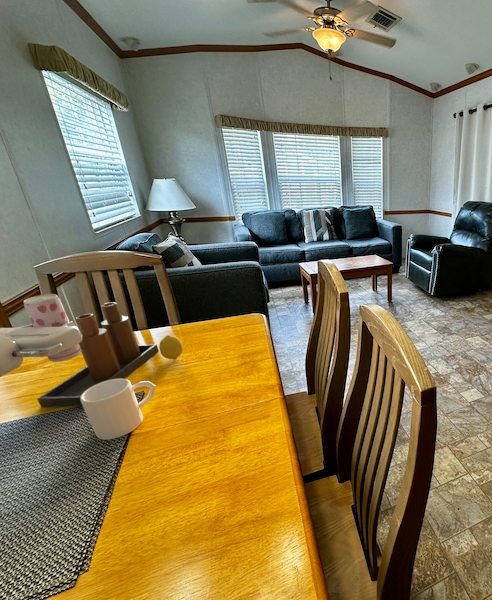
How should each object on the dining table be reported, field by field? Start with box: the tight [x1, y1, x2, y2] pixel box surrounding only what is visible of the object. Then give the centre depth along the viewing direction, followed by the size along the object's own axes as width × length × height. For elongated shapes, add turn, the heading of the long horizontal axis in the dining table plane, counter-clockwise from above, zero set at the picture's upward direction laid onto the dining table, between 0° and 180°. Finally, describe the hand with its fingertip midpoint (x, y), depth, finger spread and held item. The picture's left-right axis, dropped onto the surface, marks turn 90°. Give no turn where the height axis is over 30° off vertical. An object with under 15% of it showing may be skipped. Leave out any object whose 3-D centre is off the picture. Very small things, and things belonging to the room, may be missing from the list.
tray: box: [36, 343, 160, 408], centre depth 89 cm, size 25×11×2 cm, turn 2°
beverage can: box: [23, 293, 82, 363], centre depth 75 cm, size 6×6×15 cm
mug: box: [80, 378, 157, 441], centre depth 71 cm, size 8×12×10 cm, turn 131°
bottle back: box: [100, 301, 141, 364], centre depth 94 cm, size 6×6×18 cm
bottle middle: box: [75, 313, 121, 381], centre depth 86 cm, size 6×6×18 cm
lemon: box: [158, 334, 184, 361], centre depth 96 cm, size 6×6×8 cm
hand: (56, 324), depth 76 cm, fingers closed on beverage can, 5 cm apart
